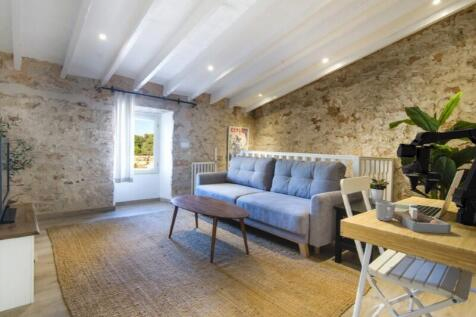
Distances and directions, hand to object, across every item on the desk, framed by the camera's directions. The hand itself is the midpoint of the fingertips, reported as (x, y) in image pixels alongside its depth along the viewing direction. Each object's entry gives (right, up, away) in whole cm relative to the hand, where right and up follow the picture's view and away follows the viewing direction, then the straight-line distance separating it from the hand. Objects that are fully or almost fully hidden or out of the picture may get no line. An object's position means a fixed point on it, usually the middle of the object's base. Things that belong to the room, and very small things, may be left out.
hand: (419, 192), depth 121 cm
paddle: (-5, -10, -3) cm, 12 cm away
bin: (-7, -14, -13) cm, 20 cm away
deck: (-5, -13, -2) cm, 14 cm away
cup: (-18, -13, -3) cm, 22 cm away
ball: (-3, -12, -13) cm, 18 cm away
